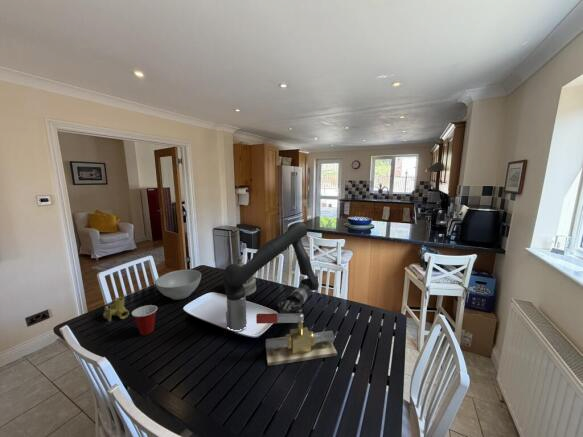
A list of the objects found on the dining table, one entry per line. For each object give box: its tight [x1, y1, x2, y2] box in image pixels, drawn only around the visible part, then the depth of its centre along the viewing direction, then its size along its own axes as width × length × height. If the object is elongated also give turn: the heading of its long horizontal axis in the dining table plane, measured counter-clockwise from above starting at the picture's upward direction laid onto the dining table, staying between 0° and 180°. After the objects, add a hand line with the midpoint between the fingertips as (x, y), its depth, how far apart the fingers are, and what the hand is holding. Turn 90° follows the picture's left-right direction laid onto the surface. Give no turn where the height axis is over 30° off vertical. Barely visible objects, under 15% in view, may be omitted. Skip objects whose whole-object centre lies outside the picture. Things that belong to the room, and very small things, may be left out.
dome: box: [236, 254, 257, 297], centre depth 156 cm, size 20×25×20 cm
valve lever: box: [255, 312, 305, 325], centre depth 101 cm, size 20×3×3 cm, turn 91°
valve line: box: [265, 322, 335, 354], centre depth 102 cm, size 30×7×13 cm, turn 101°
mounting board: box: [265, 342, 338, 367], centre depth 104 cm, size 30×12×3 cm, turn 101°
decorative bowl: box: [154, 269, 202, 301], centre depth 151 cm, size 27×27×12 cm
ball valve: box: [102, 296, 130, 322], centre depth 128 cm, size 13×10×10 cm
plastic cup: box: [131, 304, 158, 336], centre depth 115 cm, size 11×11×12 cm
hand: (281, 316), depth 102 cm, fingers closed
